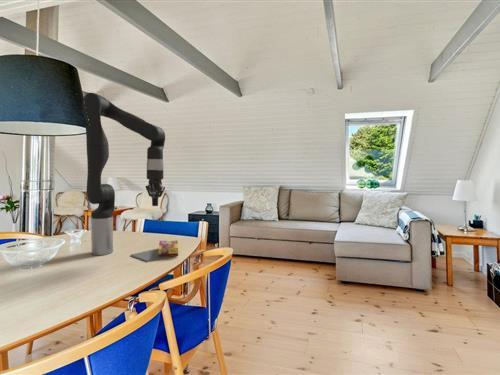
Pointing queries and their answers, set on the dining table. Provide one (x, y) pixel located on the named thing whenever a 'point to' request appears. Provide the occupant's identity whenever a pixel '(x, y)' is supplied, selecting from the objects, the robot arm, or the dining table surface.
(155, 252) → the rubber mat
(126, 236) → the dining table surface
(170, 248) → the candy box
